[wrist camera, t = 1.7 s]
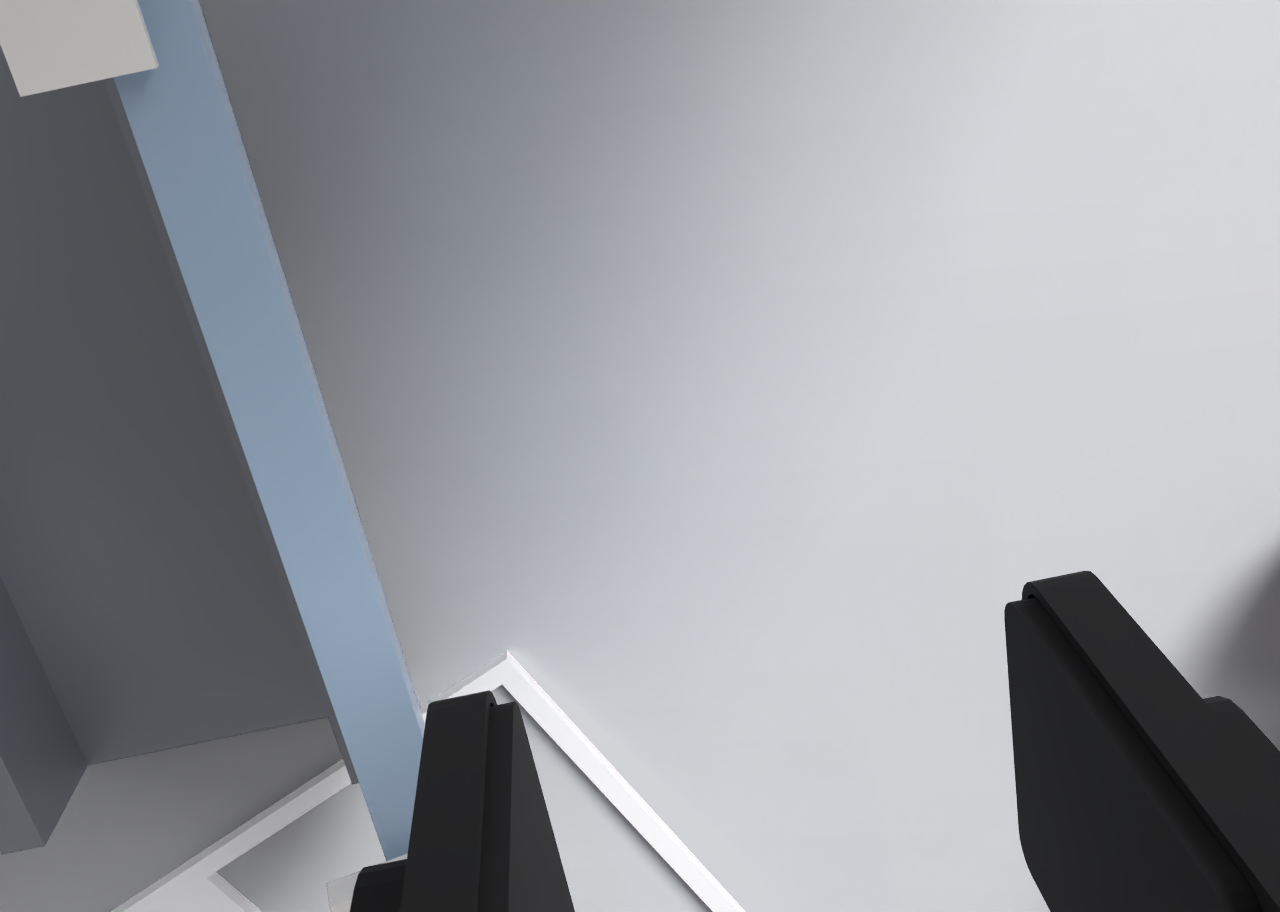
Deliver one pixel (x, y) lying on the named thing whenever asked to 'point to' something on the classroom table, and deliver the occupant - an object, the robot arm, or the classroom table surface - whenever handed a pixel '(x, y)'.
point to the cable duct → (119, 483)
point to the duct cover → (248, 358)
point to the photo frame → (212, 908)
